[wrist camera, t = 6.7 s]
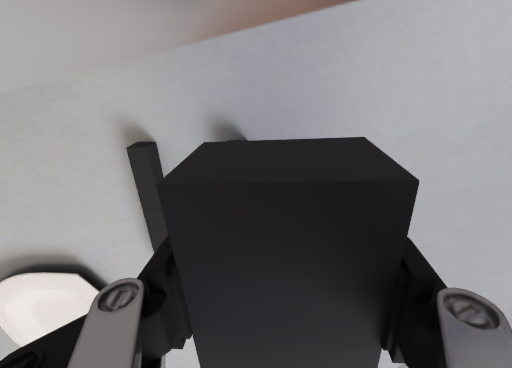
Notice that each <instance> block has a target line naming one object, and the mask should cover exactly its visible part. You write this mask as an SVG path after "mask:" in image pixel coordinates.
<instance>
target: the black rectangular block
mask: <svg viewBox="0 0 512 368" xmlns="http://www.w3.org/2000/svg"><path fill="white" fill-rule="evenodd" d="M418 186H419V180H418V179H417V178H416V177H414V176H413V175H412V174H411V173H409V172H408V171H407V170H405V169H404V168H403V167H402V166H400V165H399V164H398V163H397V162H395V161H394V160H393V159H391V158H390V157H389V156H388V155H386V154H385V153H384V152H383V151H381V150H380V149H379V148H378V147H376V146H375V145H374V144H372V143H371V142H370V141H369V140H367V139H366V138H365V137H349V138H319V139H289V140H260V141H230V142H204V143H203V144H201V145H200V146H199V147H198V148H197V149H196V150H195V151H194V152H192V153H191V154H190V155H189V156H188V157H187V158H186V159H185V160H183V161H182V162H181V163H180V164H179V165H178V166H177V167H175V168H174V169H173V170H172V171H171V172H170V173H169V174H168V175H166V176H165V177H164V178H163V179H162V180H161V181H160V182H159V183H157V189H158V194H159V198H160V202H161V206H162V210H163V214H164V218H165V223H166V227H167V231H168V235H169V239H170V243H171V247H172V252H173V256H174V260H175V264H176V268H177V272H178V276H179V281H180V285H181V289H182V293H183V297H184V301H185V305H186V309H187V314H188V318H189V322H190V326H191V330H192V334H193V338H194V343H195V347H196V351H197V355H198V359H199V363H200V367H201V368H377V367H378V363H379V359H380V354H381V350H382V347H381V343H382V339H383V334H384V330H385V325H386V321H387V316H388V312H389V307H390V303H391V298H392V294H393V289H394V285H395V280H396V276H397V271H398V270H400V266H401V261H402V257H403V252H404V248H405V243H406V239H407V235H408V230H409V226H410V221H411V217H412V212H413V208H414V204H415V199H416V195H417V190H418Z"/></svg>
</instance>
